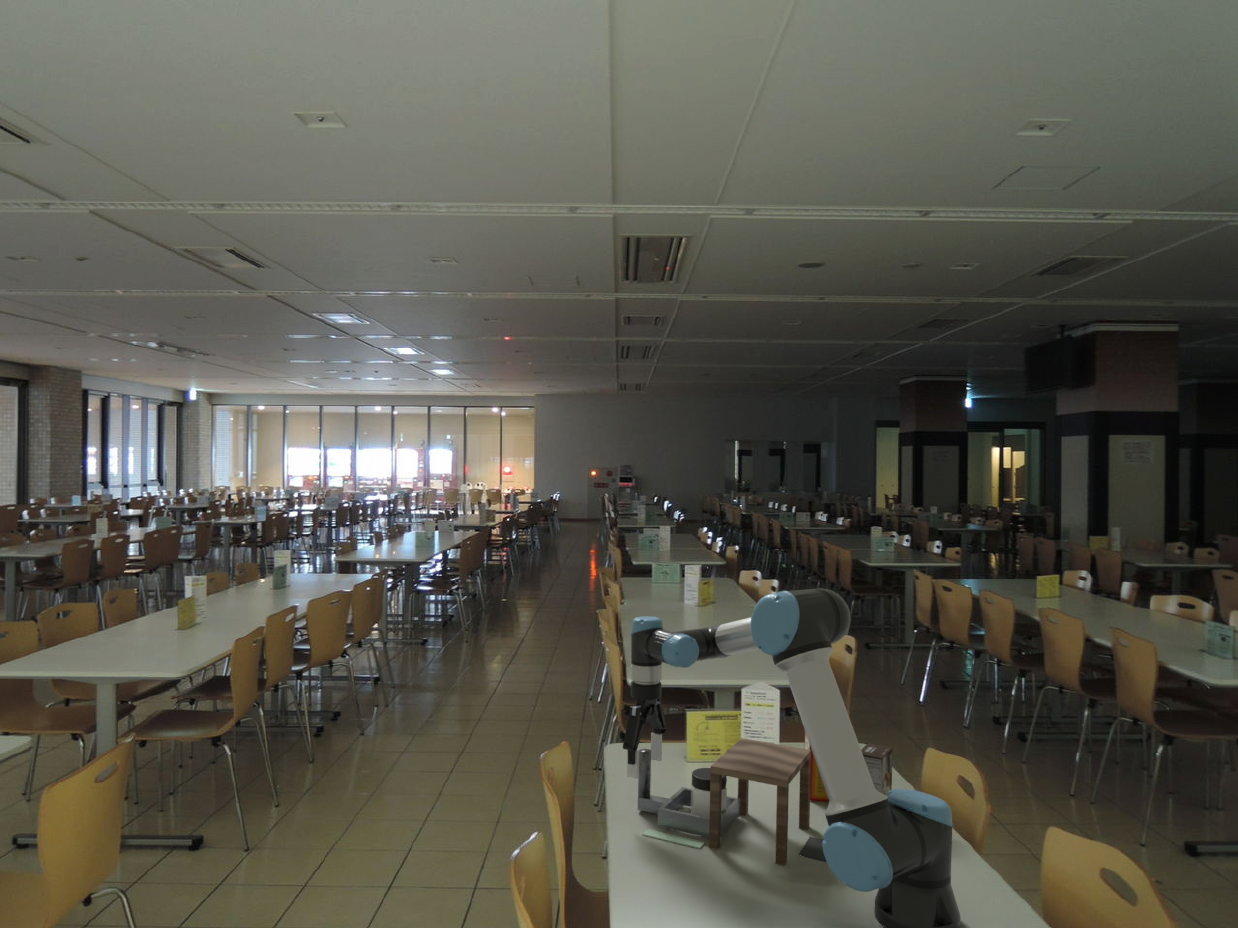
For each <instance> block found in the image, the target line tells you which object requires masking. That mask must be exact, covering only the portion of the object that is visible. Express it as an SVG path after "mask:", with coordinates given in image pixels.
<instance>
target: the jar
mask: <svg viewBox="0 0 1238 928" xmlns="http://www.w3.org/2000/svg"><path fill="white" fill-rule="evenodd" d="M710 772H711V767H701V768H696V769H694V770H693V771H692V772H691V782H690V789H691V807H690V814H694V815H698V816H703V817H708V818H710ZM727 781H728V780H727V776H724V775H722V800H721V814H722V813H723V812H724V811H725V810H726V805H727V796H728V793H727V792H728V791H727V790H728V789H727Z"/></svg>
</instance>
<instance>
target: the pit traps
mask: <svg viewBox="0 0 1238 928" xmlns="http://www.w3.org/2000/svg"><path fill="white" fill-rule="evenodd" d="M823 840H824V838H818V837H813V836H809V837H808V838H807V841H806V842H805V844H804V845H803V847H802V849H801V850H800V852H799V853H798V856H799V855H801V856H800V857H802V856H804V857H803V858H807V857H808V858H807V859H811V858H812V860H817V861H819V862H820V861H821V862H825V863H827V861H826V859H825V856H824V852H823V846H822V842H823Z"/></svg>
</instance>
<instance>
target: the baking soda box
mask: <svg viewBox="0 0 1238 928" xmlns="http://www.w3.org/2000/svg"><path fill="white" fill-rule="evenodd" d="M804 749H808V750H811V774H810V800H811V801H810V802H823V803H829V799H828V796H827V793H826V790H825V787H824V784H823V781H822V778H821V775H820V772H819V770H818V767H817V764H816V761H815V758H814V755H813V752H812V749H811V746H810V743H809V740H808V737H807V734H806V731H805V730H804Z"/></svg>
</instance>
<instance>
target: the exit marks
mask: <svg viewBox="0 0 1238 928" xmlns="http://www.w3.org/2000/svg"><path fill="white" fill-rule="evenodd" d="M641 835H642V836H643V837H647V838H653V839H657V840H660V841H664V842H665V841H666V842H668V843H673V844H678V845H681V846H686V847H690V848H694V849H698V850H701V849H702V848H703V846H705V844H706V842H705V841H701V840H696V839H692V838H688V837H684V836H681V835H675V834H671V833H666V832H663V831H658V830H653V829H649V828H647V829H646V830H645V831H644V832H643V833H641Z"/></svg>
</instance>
